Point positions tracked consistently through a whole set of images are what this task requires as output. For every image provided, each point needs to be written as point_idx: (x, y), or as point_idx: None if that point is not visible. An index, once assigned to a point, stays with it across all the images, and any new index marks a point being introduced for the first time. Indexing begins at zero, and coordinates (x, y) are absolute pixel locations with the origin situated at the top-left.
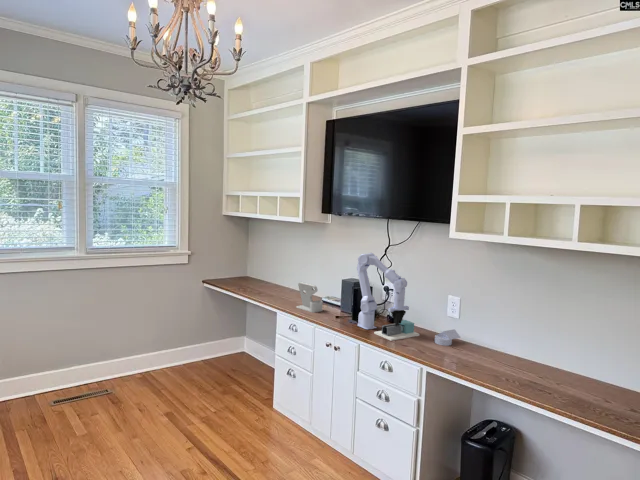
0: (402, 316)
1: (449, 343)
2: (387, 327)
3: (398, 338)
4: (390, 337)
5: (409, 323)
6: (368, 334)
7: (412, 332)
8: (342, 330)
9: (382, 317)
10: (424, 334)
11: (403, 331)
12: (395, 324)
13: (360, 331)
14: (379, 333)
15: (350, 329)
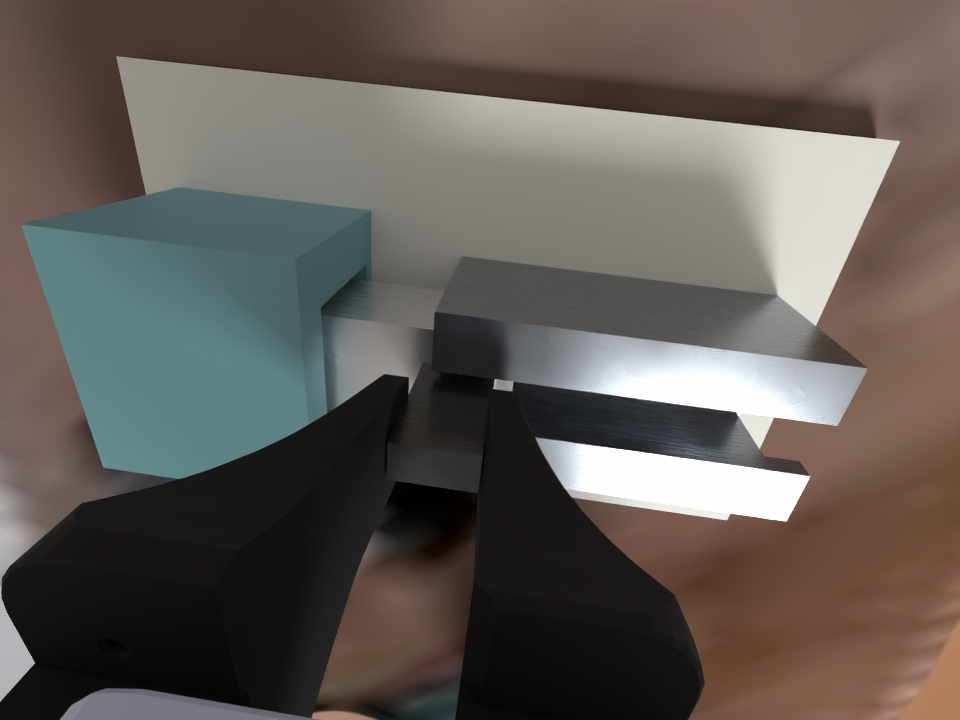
0: (300, 459)
1: None
2: (857, 386)
3: (687, 119)
4: (811, 215)
5: (169, 266)
6: (818, 516)
7: (205, 190)
8: (900, 711)
9: None
10: (7, 56)
11: None
12: None
13: (775, 615)
14: None
15: (794, 690)
